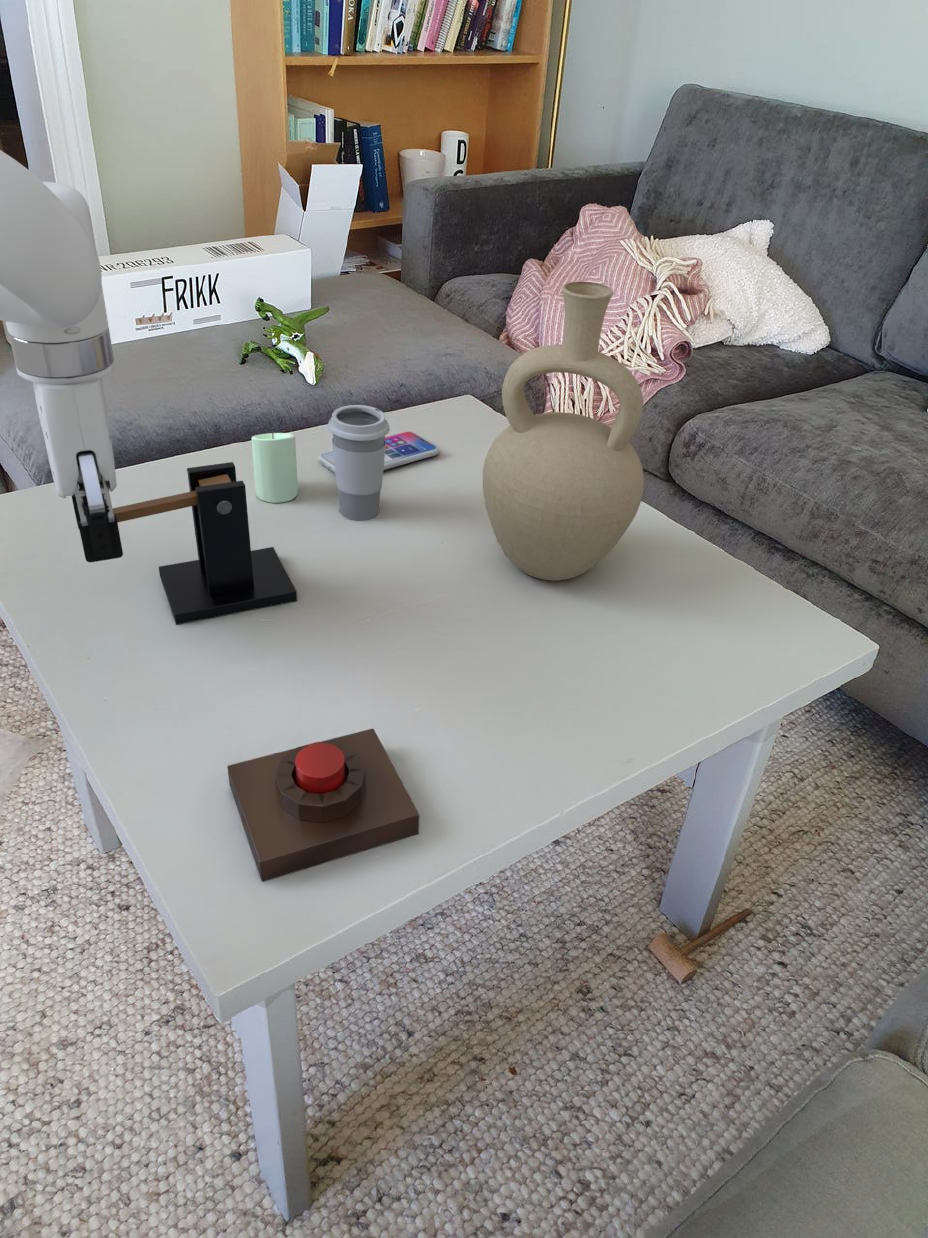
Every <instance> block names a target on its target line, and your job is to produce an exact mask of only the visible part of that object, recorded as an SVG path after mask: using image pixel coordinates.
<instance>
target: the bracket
mask: <svg viewBox="0 0 928 1238" xmlns="http://www.w3.org/2000/svg"><path fill="white" fill-rule="evenodd" d="M236 470H237V469H236V465H235V464H234V462H233V461H229V462H223V463H215V464H207V465H200V466H192V467H186V472H187V480H188V488H189V489H188V490H189V492H191V491H196V497H197V505H195V506H191V511H192V519H193V528H194V535H195V542H196V550H197V556H198V558H197V559H195V560H190V561H189V560H188V561H183V562H177V563H172V564H165V565H160V566H158V572H159V578H160V581H161V584H162V586H163V590H164V593H165V596H166V599H167V601H168V605H169V608H170V611H171V614H172V617H173V620H174V623H175V625H181V624H187V623H191V622H196V621H203V620H207V619H212V618H213V619H214V618H217V617H221V616H227V615H234V614H238V613H242V612H248V611H253V610H258V609H263V608H269V607H274V606H278V605H284V604H288V603H294V602H298V592H297V591H298V590H297V589H296V587H295V585H294V584H293V582H292V580H291V578H290V576H289V574H288V573H287V570H286V568H285V566H284V564H283V562H282V560H281V559H280V557H279V556H278V555H279V554H278V553H277V552H276V549H275V547H274V546H271V547H264V548H259V549H254V550H252V549H251V548H252V547H251V535H250V526H249V525H250V524H249V514H248V512H249V511H248V501H247V491H246V489H247V488H246V484H245V482H244V480H237V472H236ZM225 474H227V475H228V476H229V478H230V480H231V482H228V483H221V484H214V485H207V486H200V487H199V482H198V480H202V479H206V478H211V477H216V476H221V475H225Z"/></svg>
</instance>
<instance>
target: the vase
mask: <svg viewBox="0 0 928 1238" xmlns="http://www.w3.org/2000/svg"><path fill="white" fill-rule="evenodd" d="M561 292H562V298H563V306H564V307H563V308H564V309H563V311H564V313H563V314H564V316H563V317H564V318H563V334H562V335H563V336H562V344H549V345H541V346H538V347H535V348H532V349H529V350H527V351H526V352H525V353H523V354H522V355H520V356H519V357H517V358H516V359H515V360H514V361H513V363H511V365H510V366H509V367H508V369H507V372H506V374H505V376H504V378H503V379H504V380H503V382H502V388H501V389H502V391H501V401H502V407H503V411H504V414H505V417H506V419H507V421H508V424H509V426H507V427H506V428H505V429H504V430H502V431H501V432H500V433H499V434H498V435H497V437H495V439H494V440H493V442H492V443H491V445H490V446H489V449H488V450H487V453H486V456H485V459H484V462H483V467H482V492H483V500H484V505H485V509H486V513H487V516H488V520H489V523H490V526H491V529H492V531H493V533H494V536H495V538H496V541H497V543H498V545H499V546H500V548H501V550H502V552H503V553H504V555H505V556H506V557H507V559H508V560H509V561H510V563H511V564H512V565H513V566H514V567H515V568H517V569H518V570H520V571H521V572H522V573H524V574H526V575H528V576H531V577H534V578H536V579H540V580H546V581H551V582H552V581H565V580H569V579H574V578H576V577H578V576H581V575H582V574H584V573H586V572H588V571H590V569H592V568H593V567H594V566H595V565H597V564H598V563H599V562H601V560H602V559H603V558H605V556H606V555H608V553H609V552H610V551H611V550H612V549H613V548H614V547H615V546H616V544H617V543H618V542H619V541H620V540H621V539H622V537H623V535H624V534H625V533H626V531H627V530H628V528H629V527H630V526H631V524H632V523H633V522H634V521H633V520H634V519H635V517H636V515H637V513H638V512H639V511H638V510H639V508H640V506H641V502H642V499H643V496H644V491H645V475H644V469H643V465H642V463H641V460H640V456H639V455H638V453H637V451H636V450H635V448H634V447H633V446H632V444H631V443H630V442H629V441H630V440H631V439H632V437H633V436H634V435H635V432H636V430H637V428H638V426H639V424H640V421H641V419H642V416H643V413H644V395H643V391H642V388H641V386H640V384H639V382H638V379H637V378H636V377H635V376H634V374H633V373H632V372H631V371H630V370H629V369H628V367H626V366H625V365H624V364H623V363H621V362H620V361H618V360H617V359H615V358H613V357H611V356H609V355H607V354H606V353H604V352H600V351H599V347H600V339H601V333H602V329H603V324H604V320H605V315H606V314H607V313H606V312H607V310H608V306H609V304H610V300H611V298H612V296H613V295H614V290H613V289H612V288H611V287H609V286H608V285H606V284H602V283H598V282H593V281H581V280H579V281H570V282H569V281H568V282H567V283H564V284H563V285H562V286H561ZM552 373H565V374H572V375H578V376H583V377H586V378H589V379H591V380H594V381H596V382H597V383H601V385H603V386H605V387H607V388H608V389H609V390H610V391H612V393H613V394H614V395H615V397H616V399H617V400H618V402H619V407H618V411H617V413H616V415H615V417H614V420H613V422H612V425H611V426H610V425H608V424H607V423H605V422H602V421H600V420H597V419H595V418H594V417H590V416H586V415H583V414H578V413H574V412H561V411H553V412H549V411H547V412H544V413H538V414H535V413H534V412H533V411H532V409H531V407H530V406H529V403H528V401H527V396H526V392H525V387H526V383H527V382H528V381H530V380H531V379H533V378H534V377H537V376H539V375H544V374H545V375H546V374H552Z"/></svg>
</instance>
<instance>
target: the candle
mask: <svg viewBox="0 0 928 1238" xmlns="http://www.w3.org/2000/svg"><path fill="white" fill-rule="evenodd" d="M296 447H297V444H296V435H295V434H293V433H287V432H269V433H261V434H255V435H253V436H251V451H252V461H253V462H252V463H253V475H254V489H255V496H256V497H257V498H258V499H259V500H261V501H263V502H265V503H269V504H270V503H271V504H282V503H286V502H290V501H292V500H294V499H295V498H296V497H297V496H298V494H299V486H298V485H299V484H298V482H299V481H298V467H297V448H296Z"/></svg>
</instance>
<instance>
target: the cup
mask: <svg viewBox="0 0 928 1238" xmlns="http://www.w3.org/2000/svg"><path fill="white" fill-rule="evenodd" d="M327 428H328V431H330V433H331V434H332V438H331V445H332V451H333V456H334V466H335V473H334V475H335V476H334V477H335V485H336V487H337V495H338V496H337V497H338V507H339V514H341V516H342V517H344V518H346V519H349V520H353V521H366V520H367V521H368V520H370V519H373V518H375V517H376V516H378V514H379V512H380V503H381V502H380V501H381V491H382V487H383V482H384V481H383V479H384V470H383V468H384V456H385V444H386V443H385V437H386V436H387V435H388V434H389V432H390V424H389V422H388V420H387V419H386V414H385V413H384V412H383V411H382V410H380V409H379V408H378V407H375V406H374V407H373V406H370V405H364V404H350V405H349V404H348V405H344V406H340V407H338V408H335V410H333V412H332V414H331V417H330V418H329V420H328V423H327Z"/></svg>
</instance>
